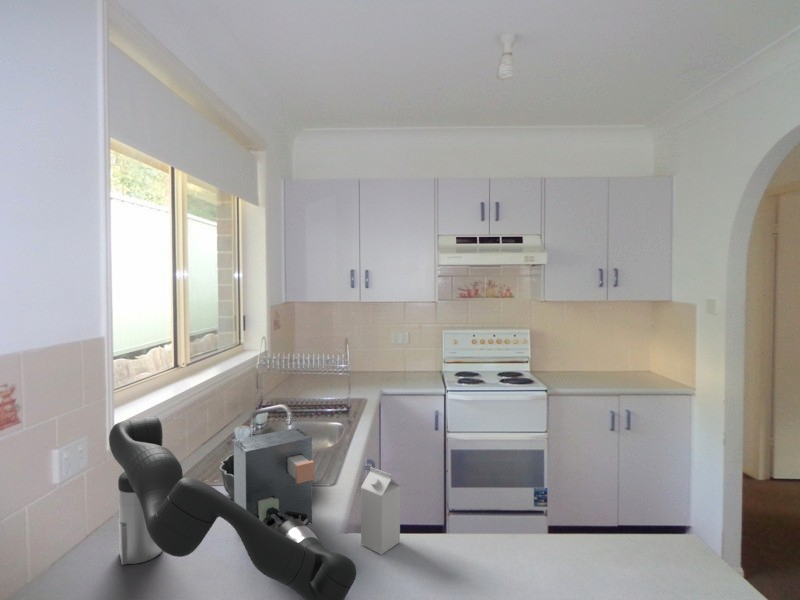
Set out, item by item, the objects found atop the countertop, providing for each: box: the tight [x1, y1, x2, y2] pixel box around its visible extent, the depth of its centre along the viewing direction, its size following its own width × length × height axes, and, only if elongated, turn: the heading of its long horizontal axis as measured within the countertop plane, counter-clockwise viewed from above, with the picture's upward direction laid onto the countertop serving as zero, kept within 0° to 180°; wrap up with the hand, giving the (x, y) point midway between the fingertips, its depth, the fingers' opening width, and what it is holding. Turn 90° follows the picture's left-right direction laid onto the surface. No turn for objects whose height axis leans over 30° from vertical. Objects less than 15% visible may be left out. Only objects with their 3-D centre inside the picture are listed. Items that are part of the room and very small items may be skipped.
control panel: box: [233, 427, 313, 528], centre depth 128 cm, size 18×10×24 cm, turn 126°
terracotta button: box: [286, 454, 315, 484], centre depth 124 cm, size 5×9×5 cm, turn 36°
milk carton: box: [360, 466, 401, 555], centre depth 120 cm, size 7×7×19 cm
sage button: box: [257, 496, 279, 521], centre depth 123 cm, size 5×9×5 cm, turn 36°
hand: (270, 511), depth 119 cm, fingers closed
